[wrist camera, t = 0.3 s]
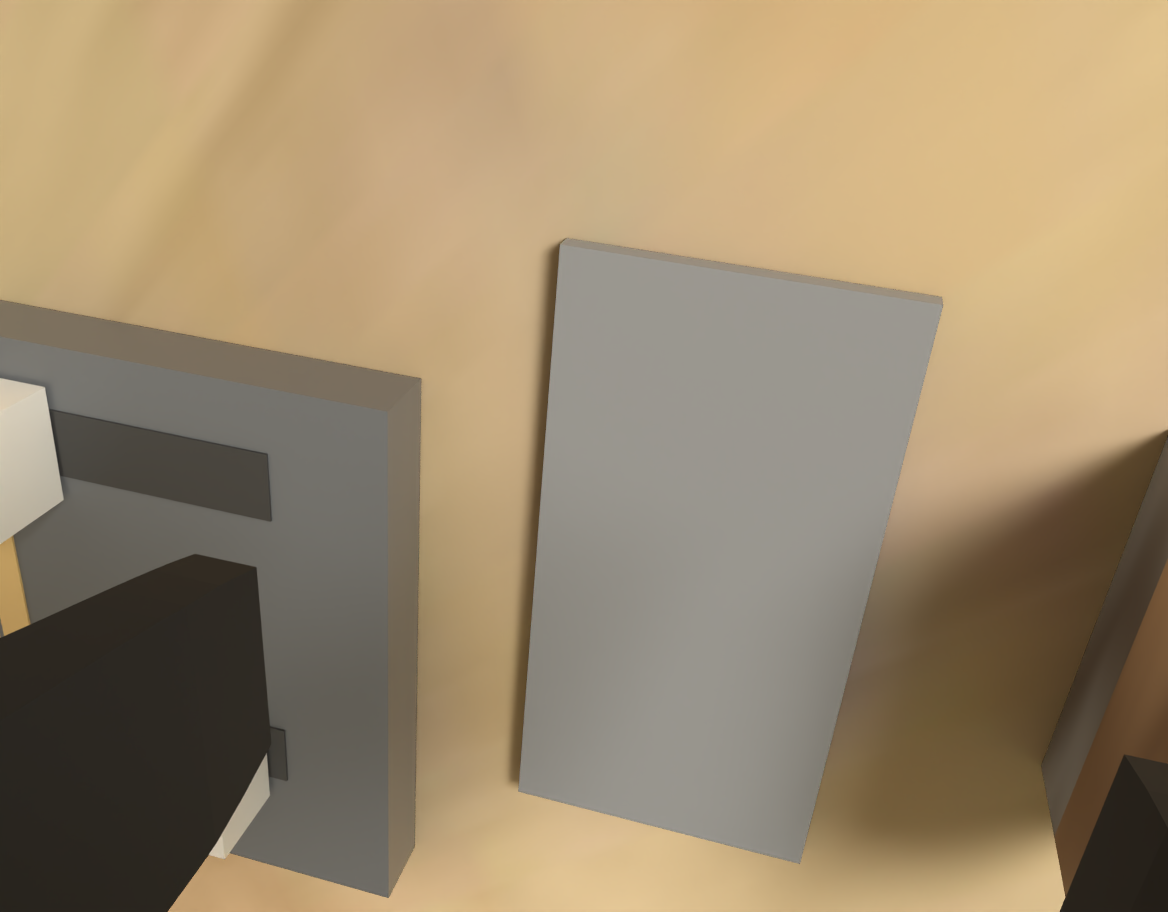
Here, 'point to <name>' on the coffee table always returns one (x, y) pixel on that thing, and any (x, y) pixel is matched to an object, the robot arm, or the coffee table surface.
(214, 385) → the switch board
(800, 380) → the tool pad
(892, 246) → the coffee table surface
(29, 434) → the tab
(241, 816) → the tab
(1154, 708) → the bar
